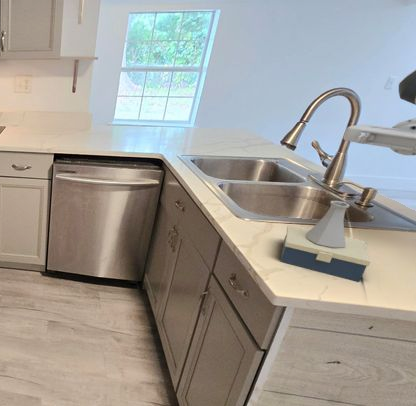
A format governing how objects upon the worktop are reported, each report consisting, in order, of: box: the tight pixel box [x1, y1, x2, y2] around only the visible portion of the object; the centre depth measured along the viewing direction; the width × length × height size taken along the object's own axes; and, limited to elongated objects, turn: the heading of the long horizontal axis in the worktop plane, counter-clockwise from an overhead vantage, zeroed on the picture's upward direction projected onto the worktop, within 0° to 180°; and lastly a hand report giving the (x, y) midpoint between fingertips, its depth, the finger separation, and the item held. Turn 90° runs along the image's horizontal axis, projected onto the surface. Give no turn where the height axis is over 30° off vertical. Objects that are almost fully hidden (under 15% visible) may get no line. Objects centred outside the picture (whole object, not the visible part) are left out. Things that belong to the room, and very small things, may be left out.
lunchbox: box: [280, 224, 371, 283], centre depth 89 cm, size 14×12×6 cm
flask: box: [306, 200, 350, 248], centre depth 86 cm, size 7×7×10 cm
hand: (388, 144), depth 83 cm, fingers open, 8 cm apart
